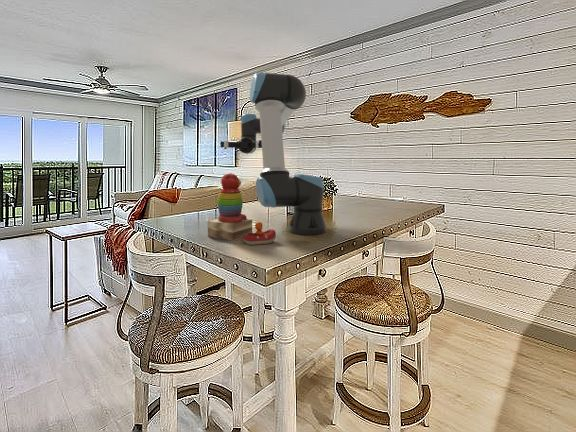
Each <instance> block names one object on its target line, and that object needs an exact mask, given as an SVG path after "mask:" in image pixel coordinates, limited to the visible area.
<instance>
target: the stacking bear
mask: <svg viewBox="0 0 576 432" xmlns="http://www.w3.org/2000/svg"><path fill="white" fill-rule="evenodd" d="M220 179H221V180H220V183H221V187H222V189H221V190H220V191H219V193H218V199H217V209H218V213H219V216H218V218H217V219H218V220H219V221H221V222H227V223H240V222H242V220H245V219H248V218H247V214H243V213H242V210H243V198H242V193H241V190H240V189H239V188H240V186H241V185H242V180H240V179H239V177H238V176H237V175H236V174H234V173H232V172H230V173H226V174H223V175H222V177H221V178H220Z"/></svg>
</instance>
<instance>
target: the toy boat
mask: <svg viewBox="0 0 576 432" xmlns="http://www.w3.org/2000/svg"><path fill="white" fill-rule="evenodd" d="M254 228H255V230H256V231H255V232H252V233H245V234H244V235H243V238H242V239H243V241H244V243H245V244H246V245H249V246H257V245H258V246H259V245H260V246H261V245H270V244H271V243H273V242H274V241H275V240H276V237H277V233H276V230H275V229H273V228H272V229H267V230H265V231H263V223H262V222H261V221H258V222H256V223H255V225H254Z"/></svg>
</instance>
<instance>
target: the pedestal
mask: <svg viewBox="0 0 576 432" xmlns="http://www.w3.org/2000/svg"><path fill="white" fill-rule="evenodd" d="M245 233H253V219H251V218H247V219H245V220H242V222H240V223H227V222H221V221H219V220H218V218H215V219H211V220H207V237H208V238H215V239H220V240H226V241H227V240H228V241H236V240H240V239H243V235H244V234H245Z"/></svg>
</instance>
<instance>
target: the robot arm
mask: <svg viewBox="0 0 576 432" xmlns="http://www.w3.org/2000/svg"><path fill="white" fill-rule="evenodd" d="M250 83H251V84H250V90H249V100H250V103H252V104H254V105H255V106H254V108H255V110H256V111H257V112H259V118H258V117H257V114H254V113H243V114H242V115H241V120H240V126H241V127H240V129H241V130H240V132H241V136H240V139H239V140H235V141H227V140H223V141H222V140H221V141H220V148H224V150H227V149H228V148H230V149H236V150H237V149H238V150H239V151H240V152H241V153H243V154H246V155H249V154H253V153H254V152H255V151H256V150H257V149H261V153H262V154H261V155H262V156H261V157H262V167H263V168H262V170H261V171H260V173H259V177H257V178H256V180H255V189H256V192H255V193H256V197H257V199H258V201H259V204H260V205H261V206H263V207H264V208H271V209H274V208H282V207H283V208H284V207H286V208H288V207H290V208H291V207H293V214H292V216H291V219H290V223H289V226H288V231H289V232H291V233H292V234H298V235H304V236H305V235H307V236H308V235H310V236H311V235H312V236H313V235H315V236H316V235H321V233H322V234H325V233H326V232H327V225H326V222H325V221H326V220H325V218H324V216H323V215H324V214H323V204H324V203H323V199H324V180H323V178H322V177H320V176H316V175H309V174H301V173H294V175H293V177H291V176H290V170H288V169H287V168H286V163H285V152H284V151H285V150H284V139H283V134H284V132H285V128H286V127H285V126H286V125H285V123H287V121H288V119H289V118H290V117H291V116H292V115H293V113H294V112H295V111H296V110H299V109H300V108H301V107H302V106H303V104H304V103H305V101H306V97H307V92H306V87H305V85H304V83H303V82H302V80H301V79H299V78H298V77H297V76H295V75H292V74H285V73H284V74H282V73H274V72H273V73H271V72H265V71H264V72H256V73H254V75H253V76H252V80H251V82H250ZM257 134H260V140H259V141H257ZM324 232H325V233H324Z"/></svg>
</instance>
